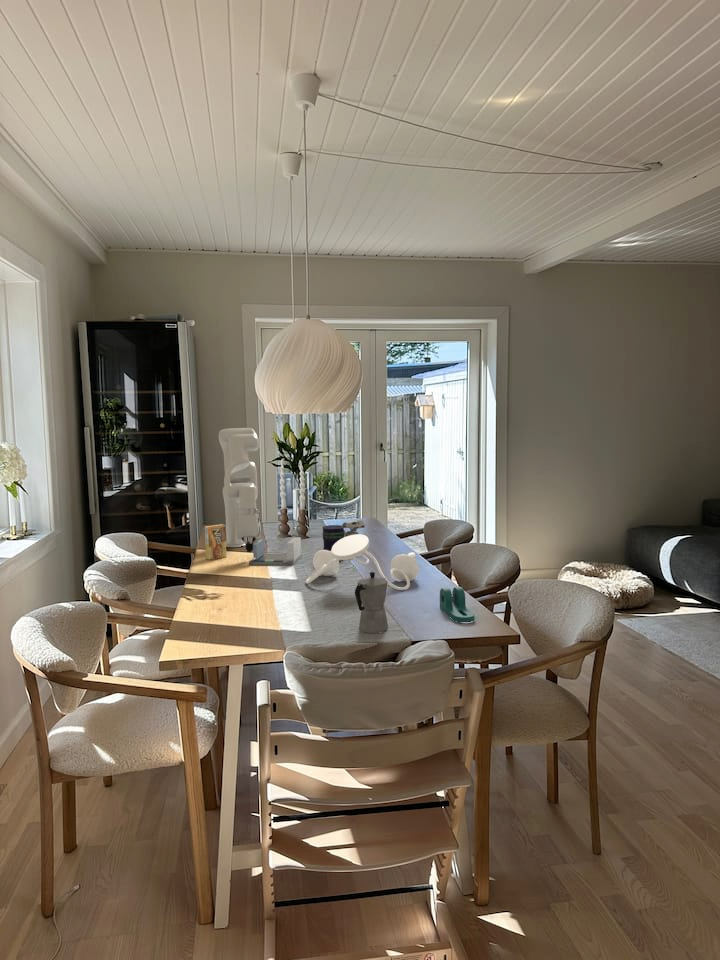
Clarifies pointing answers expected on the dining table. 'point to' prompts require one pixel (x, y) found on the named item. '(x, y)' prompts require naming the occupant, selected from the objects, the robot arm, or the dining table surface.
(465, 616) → the bracket
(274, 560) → the gauge housing
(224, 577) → the dining table surface
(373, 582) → the coffeepot
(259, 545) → the pressure plate
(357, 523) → the figurine
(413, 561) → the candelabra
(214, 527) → the candy box
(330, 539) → the storage jar
